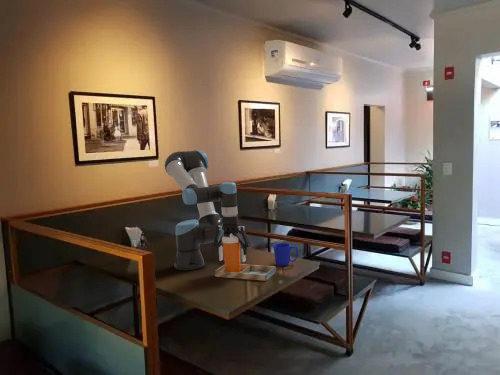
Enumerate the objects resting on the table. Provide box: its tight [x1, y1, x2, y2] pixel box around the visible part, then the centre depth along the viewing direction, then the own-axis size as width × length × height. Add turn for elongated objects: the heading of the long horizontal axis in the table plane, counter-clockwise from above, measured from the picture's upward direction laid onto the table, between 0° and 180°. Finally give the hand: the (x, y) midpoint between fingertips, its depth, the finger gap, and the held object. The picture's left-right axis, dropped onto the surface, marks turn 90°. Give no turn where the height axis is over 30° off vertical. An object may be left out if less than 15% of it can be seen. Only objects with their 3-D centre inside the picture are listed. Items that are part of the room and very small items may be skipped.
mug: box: [273, 242, 299, 267], centre depth 206 cm, size 8×12×10 cm
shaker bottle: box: [222, 233, 242, 273], centre depth 197 cm, size 9×9×20 cm
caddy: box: [213, 263, 277, 282], centre depth 195 cm, size 26×13×2 cm, turn 68°
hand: (232, 260), depth 197 cm, fingers open, 11 cm apart
